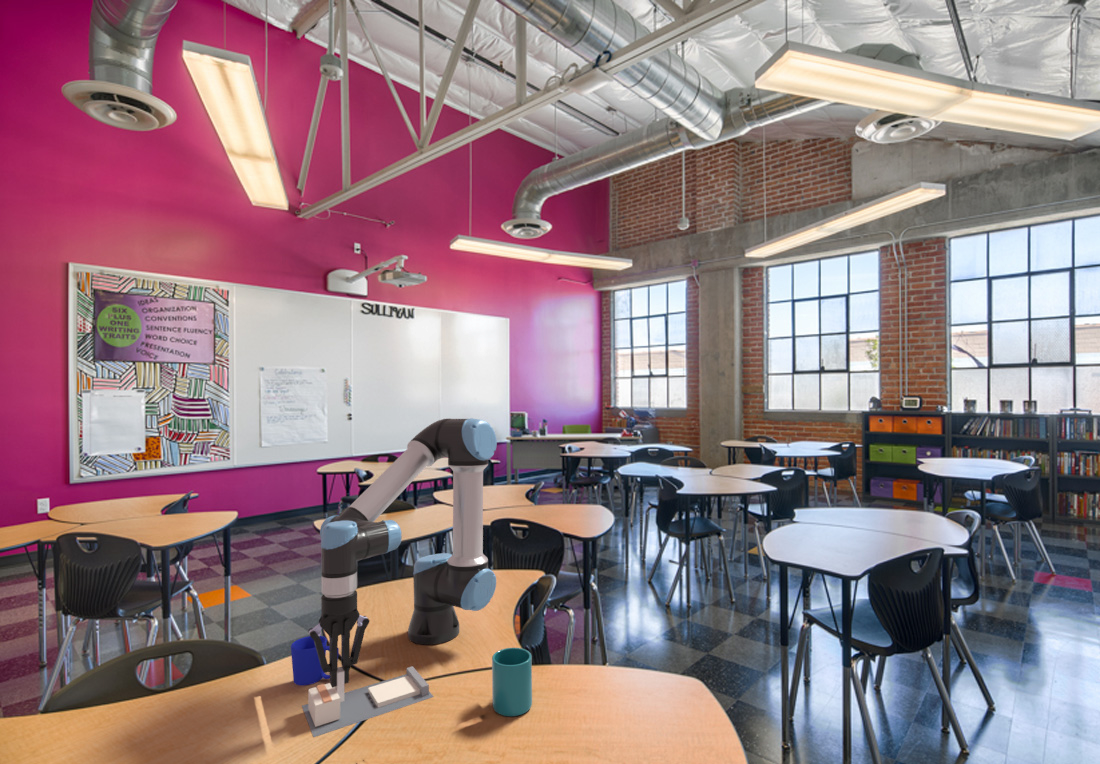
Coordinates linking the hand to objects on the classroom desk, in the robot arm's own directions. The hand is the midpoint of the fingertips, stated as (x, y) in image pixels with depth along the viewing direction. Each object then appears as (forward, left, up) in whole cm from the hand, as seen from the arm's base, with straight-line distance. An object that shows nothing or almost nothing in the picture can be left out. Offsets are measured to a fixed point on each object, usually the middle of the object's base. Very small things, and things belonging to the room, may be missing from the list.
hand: (339, 699), depth 120 cm
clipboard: (-6, 0, -4) cm, 7 cm away
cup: (-34, +18, -4) cm, 39 cm away
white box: (+3, 0, -2) cm, 4 cm away
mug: (+2, -18, -4) cm, 19 cm away
